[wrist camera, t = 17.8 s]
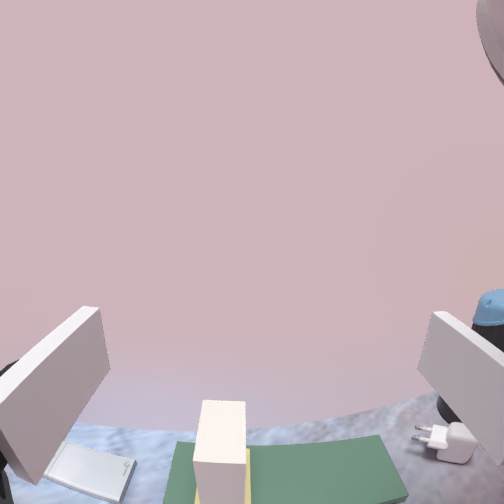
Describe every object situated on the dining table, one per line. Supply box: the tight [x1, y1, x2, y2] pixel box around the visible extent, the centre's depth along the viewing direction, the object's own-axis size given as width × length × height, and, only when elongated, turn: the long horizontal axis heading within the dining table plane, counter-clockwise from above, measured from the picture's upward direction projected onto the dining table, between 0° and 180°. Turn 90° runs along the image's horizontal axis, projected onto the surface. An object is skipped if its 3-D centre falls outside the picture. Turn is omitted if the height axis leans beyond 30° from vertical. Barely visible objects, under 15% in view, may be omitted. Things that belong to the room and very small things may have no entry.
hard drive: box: [42, 440, 137, 504], centre depth 28 cm, size 2×8×12 cm
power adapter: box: [412, 422, 479, 464], centre depth 31 cm, size 11×5×6 cm, turn 54°
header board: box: [163, 435, 408, 504], centre depth 30 cm, size 30×13×6 cm, turn 91°
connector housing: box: [193, 400, 246, 504], centre depth 29 cm, size 5×10×10 cm, turn 1°
